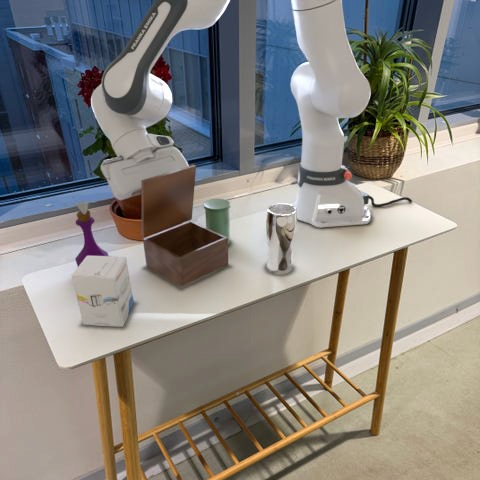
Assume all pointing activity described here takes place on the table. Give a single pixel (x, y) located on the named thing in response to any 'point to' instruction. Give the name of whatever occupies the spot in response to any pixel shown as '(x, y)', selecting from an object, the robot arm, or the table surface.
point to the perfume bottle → (87, 234)
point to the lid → (167, 200)
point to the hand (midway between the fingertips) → (166, 204)
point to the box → (186, 252)
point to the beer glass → (280, 237)
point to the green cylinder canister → (218, 216)
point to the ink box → (103, 290)
